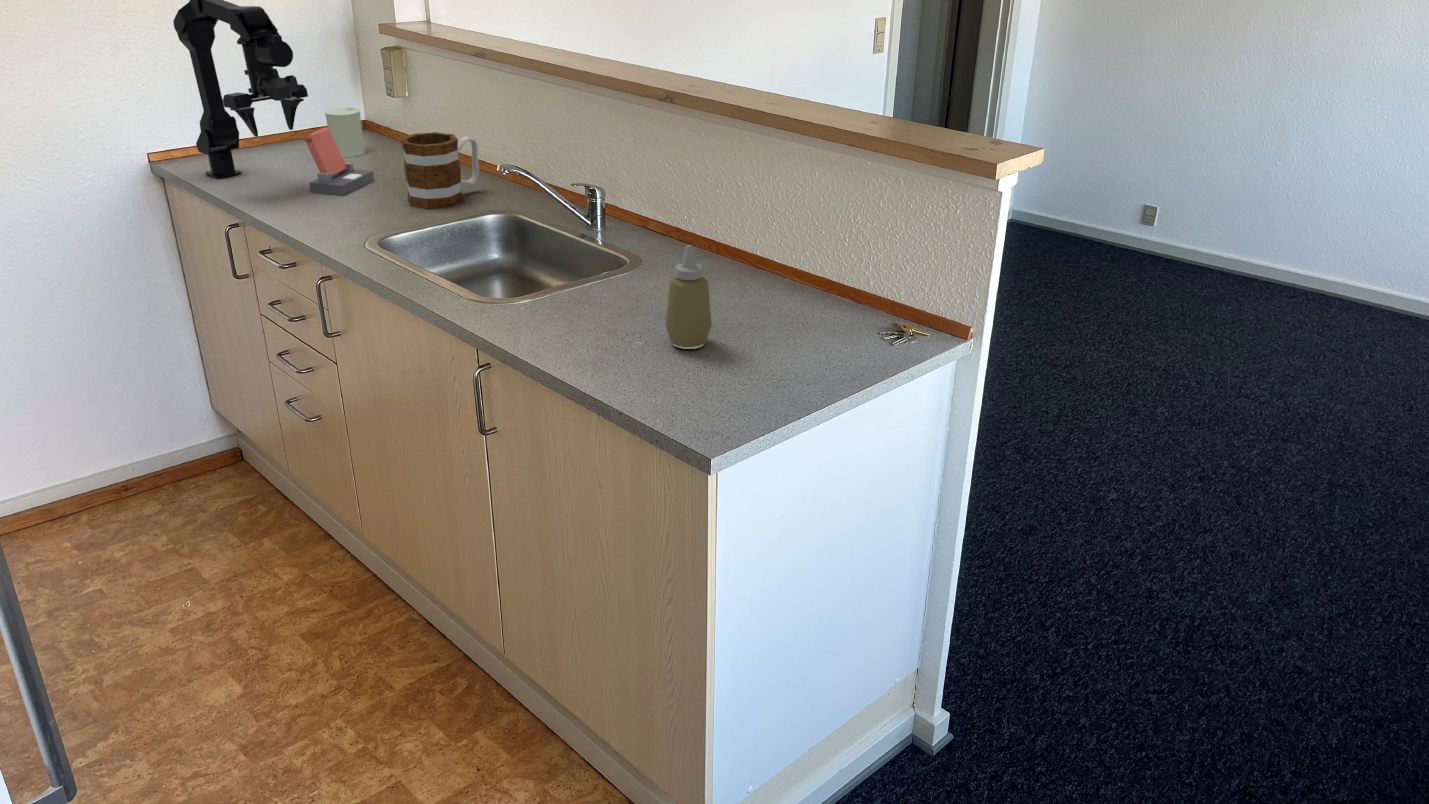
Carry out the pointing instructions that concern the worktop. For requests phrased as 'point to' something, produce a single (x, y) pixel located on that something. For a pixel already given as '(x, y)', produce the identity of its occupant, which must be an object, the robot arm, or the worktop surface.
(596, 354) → the worktop surface
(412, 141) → the mug
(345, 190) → the grey holder stand
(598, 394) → the worktop surface
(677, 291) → the squeeze bottle
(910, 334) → the worktop surface
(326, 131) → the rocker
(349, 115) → the can
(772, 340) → the worktop surface
